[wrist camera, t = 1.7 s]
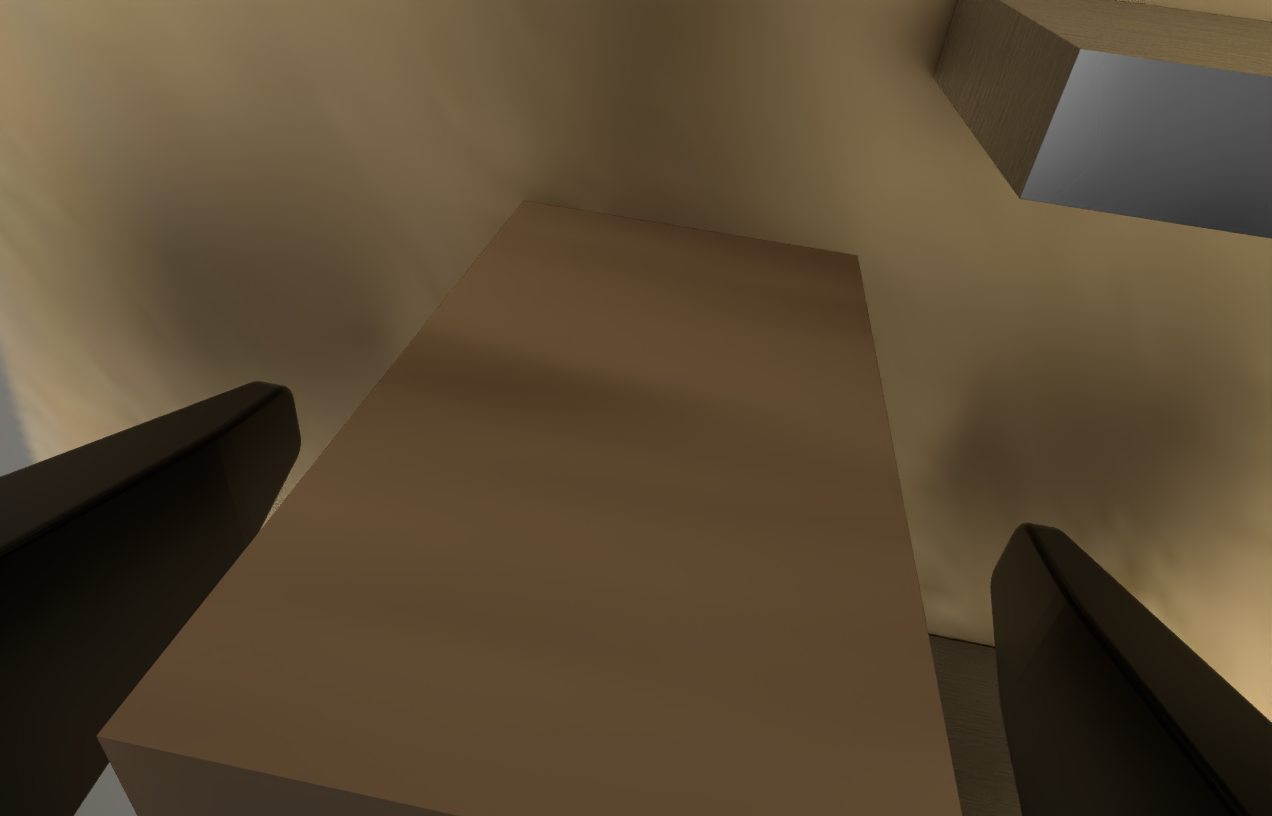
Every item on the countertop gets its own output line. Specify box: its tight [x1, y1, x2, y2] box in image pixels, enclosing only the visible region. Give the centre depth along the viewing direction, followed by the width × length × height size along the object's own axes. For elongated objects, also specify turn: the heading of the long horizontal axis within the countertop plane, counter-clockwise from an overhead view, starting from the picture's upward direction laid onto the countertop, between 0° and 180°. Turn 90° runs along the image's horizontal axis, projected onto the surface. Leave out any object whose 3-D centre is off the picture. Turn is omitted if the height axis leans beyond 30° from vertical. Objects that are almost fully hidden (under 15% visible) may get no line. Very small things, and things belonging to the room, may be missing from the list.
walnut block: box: [97, 201, 962, 816], centre depth 8 cm, size 4×4×8 cm
